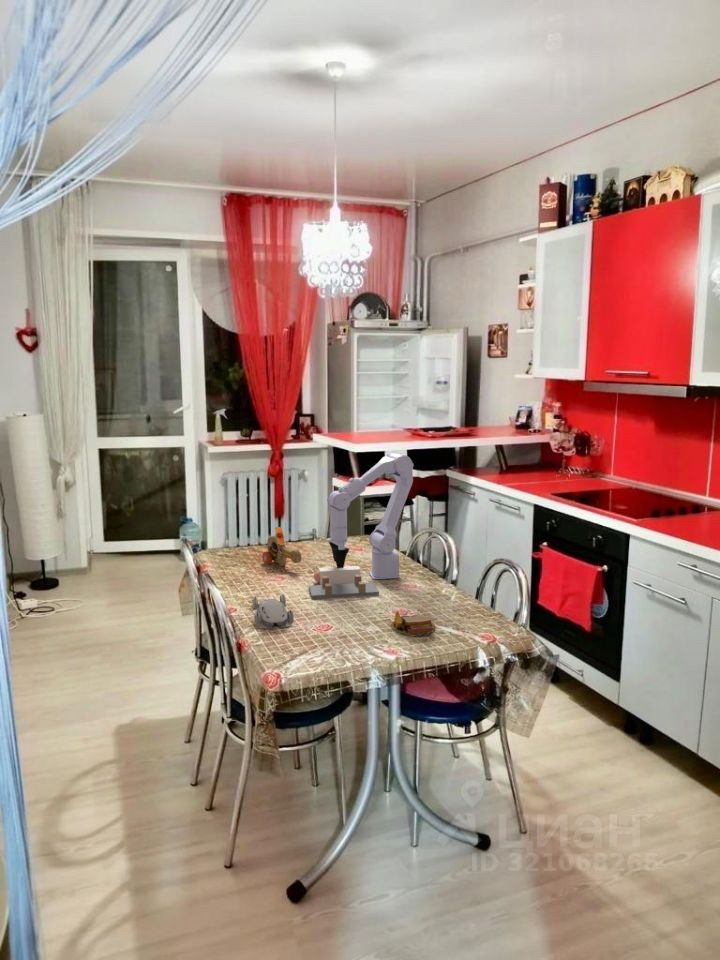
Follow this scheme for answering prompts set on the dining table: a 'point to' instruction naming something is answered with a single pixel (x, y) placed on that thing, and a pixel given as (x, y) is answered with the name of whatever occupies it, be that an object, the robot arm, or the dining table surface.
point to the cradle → (343, 589)
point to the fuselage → (337, 574)
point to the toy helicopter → (279, 550)
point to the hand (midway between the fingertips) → (338, 564)
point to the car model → (272, 613)
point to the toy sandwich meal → (412, 624)
